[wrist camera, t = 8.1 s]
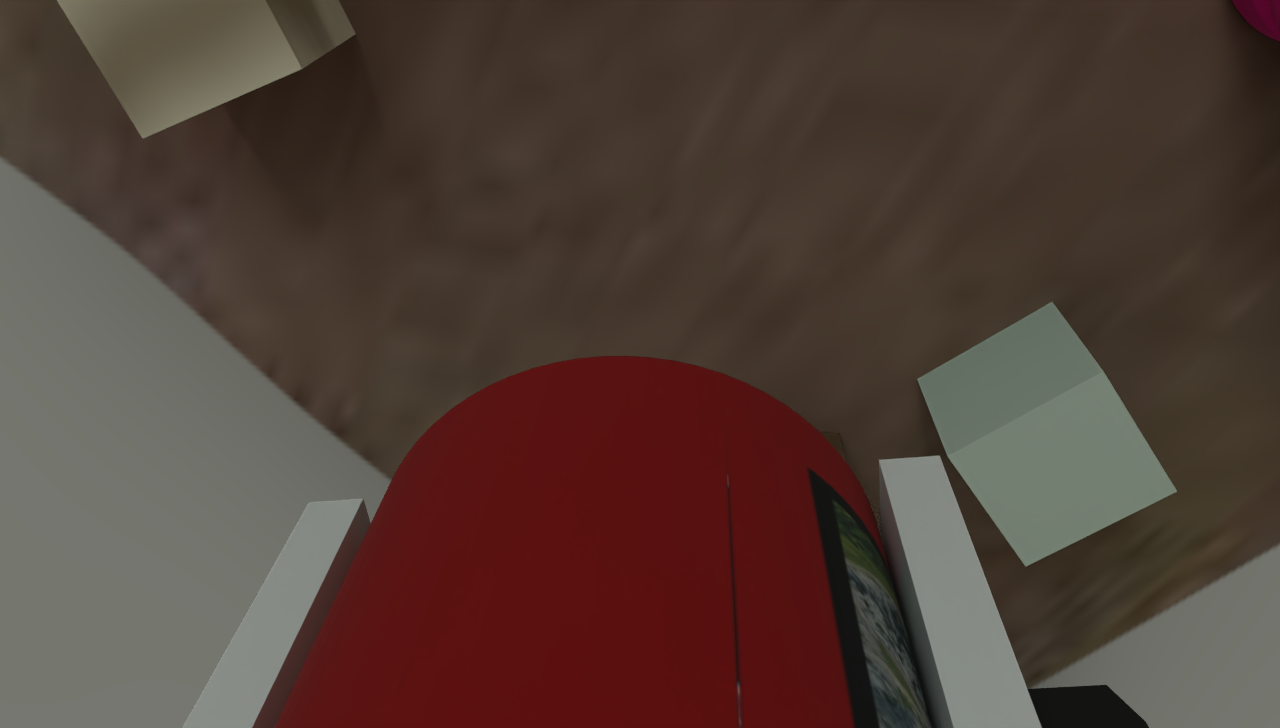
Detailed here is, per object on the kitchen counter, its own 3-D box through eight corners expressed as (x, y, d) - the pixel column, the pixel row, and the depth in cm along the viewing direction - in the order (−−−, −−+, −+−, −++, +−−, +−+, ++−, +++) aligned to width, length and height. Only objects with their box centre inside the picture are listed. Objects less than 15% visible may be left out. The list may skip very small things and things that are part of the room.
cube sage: (916, 378, 36) (947, 456, 32) (1051, 300, 35) (1103, 371, 30) (987, 479, 38) (1025, 566, 34) (1118, 409, 37) (1177, 491, 32)
